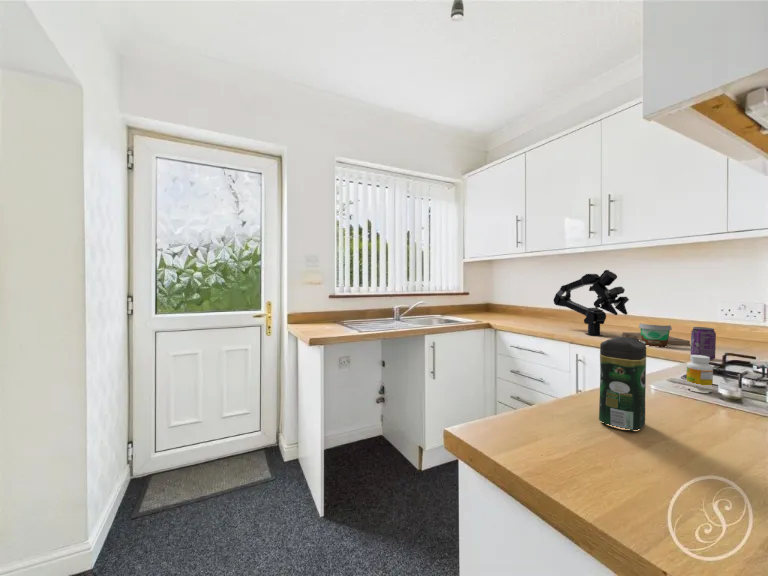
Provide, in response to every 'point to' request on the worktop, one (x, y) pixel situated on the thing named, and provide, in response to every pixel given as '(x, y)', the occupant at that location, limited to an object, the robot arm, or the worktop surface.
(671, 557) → the worktop surface
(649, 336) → the food container
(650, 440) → the worktop surface
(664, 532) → the worktop surface
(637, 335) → the walnut chopping board
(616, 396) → the coffee jar
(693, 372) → the supplement bottle
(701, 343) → the beverage can
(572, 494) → the worktop surface
